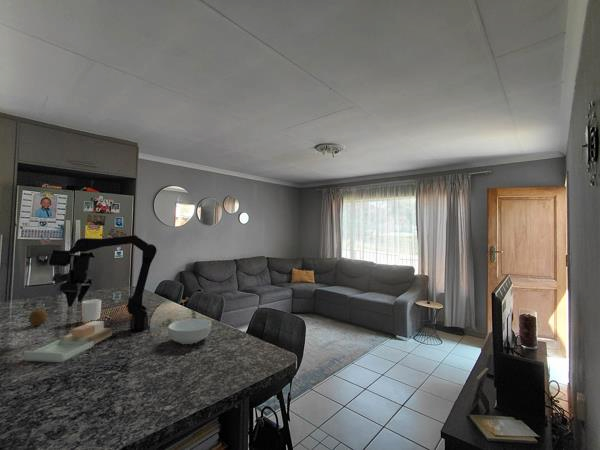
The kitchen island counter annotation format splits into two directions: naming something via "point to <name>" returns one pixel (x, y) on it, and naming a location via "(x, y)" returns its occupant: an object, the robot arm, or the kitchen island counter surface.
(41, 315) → the fruit
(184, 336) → the cereal bowl
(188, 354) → the kitchen island counter surface
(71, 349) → the tray
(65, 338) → the beech board
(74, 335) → the terracotta tile
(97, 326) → the cream tile
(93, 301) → the white cup
